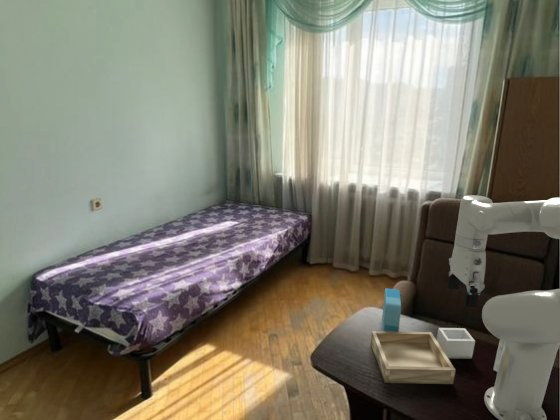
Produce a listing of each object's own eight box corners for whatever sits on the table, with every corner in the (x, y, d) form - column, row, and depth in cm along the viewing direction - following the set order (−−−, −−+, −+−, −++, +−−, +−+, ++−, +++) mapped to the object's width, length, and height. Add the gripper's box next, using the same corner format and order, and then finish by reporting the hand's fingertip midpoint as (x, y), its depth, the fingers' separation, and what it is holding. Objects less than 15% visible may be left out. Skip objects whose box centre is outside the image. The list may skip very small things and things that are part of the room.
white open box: (471, 358, 103) (475, 341, 101) (444, 358, 103) (447, 340, 101) (461, 345, 109) (464, 328, 107) (435, 344, 109) (438, 327, 107)
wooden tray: (452, 384, 93) (455, 370, 92) (384, 382, 93) (386, 368, 92) (429, 344, 109) (431, 332, 107) (370, 343, 109) (371, 331, 108)
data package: (397, 340, 110) (401, 307, 107) (382, 338, 111) (385, 305, 108) (395, 319, 121) (399, 288, 118) (382, 317, 123) (385, 286, 119)
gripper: (503, 253, 87) (491, 314, 92) (467, 230, 104) (459, 283, 109) (473, 253, 87) (463, 314, 92) (442, 230, 104) (435, 283, 109)
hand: (461, 297), depth 100 cm, fingers open, 9 cm apart
